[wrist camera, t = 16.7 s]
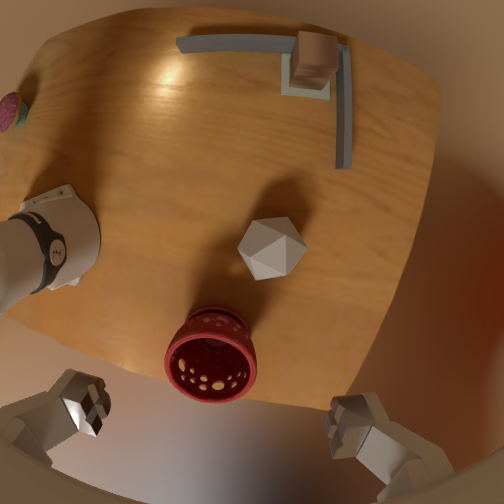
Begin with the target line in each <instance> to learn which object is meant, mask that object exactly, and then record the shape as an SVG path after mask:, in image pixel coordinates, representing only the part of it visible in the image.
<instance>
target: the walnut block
mask: <svg viewBox="0 0 504 504" xmlns="http://www.w3.org/2000/svg"><path fill="white" fill-rule="evenodd" d="M338 69H339V51H338V37H337V36H331V35H326V34H320V33H313V32H306V31H298V34H297V38H296V41H295V44H294V47H293V50H292V54H291V57H290V60H289V87H293V88H303V89H312V90H319V91H321V90H322V89H323V88H324V87H325V85H326V84H327V83H328V81H329V80H330V79H331V78H332V76H333V75H334V74H335V73H336V71H337V70H338Z"/></svg>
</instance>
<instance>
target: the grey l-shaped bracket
mask: <svg viewBox="0 0 504 504" xmlns="http://www.w3.org/2000/svg"><path fill="white" fill-rule="evenodd" d="M296 38H297V37H291V36H280V35H264V34H212V35H196V36H185V37H177V38H176V45H177V46H178V48H179V50H180V51H181V53H194V52H210V51H261V52H278V53H282V68H281V95H292V96H302V97H311V98H319V99H326V100H330V80H329V81H328V83H327V84H326V85H325V87H324V88H323V89H322V90H321V91H319V90H312V89H303V88H293V87H289V60H290V57H291V54H292V50H293V47H294V44H295V41H296ZM338 51H339V69H338V70H337V71H336V84H337V137H336V167H335V169H342V170H343V169H351V165H352V76H351V58H350V46H349V45H344V44H339V43H338ZM287 53H290V54H287Z"/></svg>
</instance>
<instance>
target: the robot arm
mask: <svg viewBox="0 0 504 504" xmlns="http://www.w3.org/2000/svg"><path fill="white" fill-rule="evenodd" d="M62 192H63V194H62ZM99 248H100V233H99V228H98V224H97V221H96V219H95V216H94V215H93V213H92V211H91V210H90V208H89V207H88V206H87V205H86V204H85V203H84V202H83V201H81V200H80V199H79V198H78V197H77V195H76V193H75V191H74V189H73V188H72V186H71V185H70V184H66V185H63V186H60V187H58V188H55V189H53V190H50V191H48V192H45V193H43V194H41V195H38V196H36V197H34V198H31V199H29V200H27V201H25V202H23V203H21V205H20V209H19V212H17V213H15V214H13V215H12V216H11V217H10V218H9V219H8V220H6V221H3V222H0V315H1V314H2V313H3V312H5V311H6V310H7V309H8V308H10V307H11V306H12V305H14V304H15V303H17V302H18V301H20V300H21V299H22V298H24V297H25V296H27V295H29V294H35V293H37V292H40V291H42V290H44V289H45V288H49V289H51V290H55V289H57V288H59V287H61V286H63V285H65V284H70V285H72V286H76V285H78V284H79V283H80V281H81V279H82V277H83V274H84V273H85V272H86V271H87V270H89V269H90V268H91V267H92V266H93V264H94V263H95V261H96V259H97V256H98V253H99ZM105 386H106V385H105V383H104V380H103V379H102V378H99V377H95V376H92V375H89V374H85V373H82V372H79V371H75V370H72V369H68V370H66V371H65V372H64V373H63V375H62V376H61V377H60V378H59V379H58V380H57V382H56V383H55V384H54V385H53V386H52V388H51V389H50V390H49V391H48V392H46V391H44V392H41V393H39V394H36V395H34V396H31V397H28V398H25V399H23V400H20V401H17V402H15V403H12V404H9V405H6V406H3V407H1V408H0V504H147V503H143V502H140V501H136V500H132V499H129V498H126V497H123V496H119V495H116V494H113V493H110V492H108V491H105V490H102V489H99V488H97V487H94V486H91V485H89V484H86V483H84V482H82V481H79V480H77V479H75V478H73V477H70V476H68V475H66V474H64V473H62V472H60V471H58V470H56V469H53V468H52V467H51V465H52V460H51V459H50V457H49V456H48V455H47V453H46V451H48V450H50V449H51V448H53V447H54V446H56V445H57V444H59V443H61V442H63V441H64V440H66V439H67V438H69V437H70V436H72V435H74V434H75V433H77V432H78V431H81V432H84V433H87V434H90V435H94V436H97V434H98V433H99V430H100V429H101V427H102V425H103V424H102V419H104V418H106V417H107V416H108V414H109V412H110V408H111V400H110V397H109V394H108V393H107V392H106V391H105V390H104V388H105ZM330 405H331V408H332V409H331V410H330V411H329V412H328V413H327V417H326V433H327V436H328V437H329V438H331V439H332V441H331V443H330V449H331V453H332V457H333V459H340V458H347V457H355V456H356V458H357V459H358V460H359V461H360V462H361V463H363V464H364V465H365V466H366V467H367V468H368V469H369V470H370V471H372V472H373V473H374V474H375V475H376V476H377V477H378V478H380V479H381V480H382V481H383V482H384V483H385V484H387V486H386V487H385V488H384V489H383V490H382V492H381V493H380V494H379V495H378V496H377V499H378V502H376V503H372V504H504V446H502V447H501V448H499V449H498V450H496V451H495V452H493V453H491V454H490V455H488V456H486V457H485V458H483V459H481V460H480V461H478V462H476V463H474V464H472V465H470V466H469V467H467V468H465V469H463V470H461V471H459V472H457V473H455V471H454V470H453V468H452V466H451V464H450V462H449V460H448V459H447V457H446V455H445V453H444V451H443V450H442V448H440V447H438V446H436V445H434V444H433V443H431V442H429V441H427V440H425V439H423V438H422V437H420V436H418V435H416V434H415V433H413V432H411V431H409V430H408V429H405V428H404V427H403V426H401V425H399V424H397V423H396V422H390V420H389V418H388V416H387V414H386V412H385V410H384V408H383V406H382V404H381V402H380V400H379V398H378V397H377V395H376V393H375V392H369V393H362V394H353V395H344V396H334V397H333V398H332V401H331V404H330Z"/></svg>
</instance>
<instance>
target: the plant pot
mask: <svg viewBox="0 0 504 504" xmlns="http://www.w3.org/2000/svg"><path fill="white" fill-rule="evenodd" d="M179 359H180V360H181V361H182V362H183V364H184V366H185V371H184V372H183V371H182V370H181V369H180V368H179ZM164 364H165V370H166V374H167V376H168V378H169V380H170V382H171V383H172V384H173V385H174V387H175V388H177V389H178V390H179V391H180V392H181V393H183V394H184V395H186V396H188V397H190V398H192V399H194V400H197V401H200V402H205V403H225V402H230V401H233V400H235V399H238V398H239V397H241V396H243V395H244V394H245V393H247V392H248V391H249V390H250V388H251V387H252V386H253V384H254V382H255V380H256V376H257V361H256V354H255V350H254V346H253V343H252V340H251V338H250V333H249V329H248V327H247V325H246V323H245V321H244V320H243V319H242V318H241V317H240V316H239V315H238V314H237V313H235V312H234V311H232V310H230V309H228V308H224V307H220V306H207V307H203V308H200V309H198V310H196V311H194V312H193V313H192V314H190V315H189V317H188V318H187V319H186V321H185V323H184V325H183V326H182V327H181V328H180V329H179V330H178V331H177V333H176V334H175V336H174V338H173V339H172V341H171V343H170V345H169V347H168V350H167V352H166V355H165V362H164ZM190 369H192V370H193V371H194V373H191V372H190ZM240 373H241V374H240ZM239 374H240V376H239V377H238V375H239ZM245 375H246V377H245V378H244V376H245ZM181 376H182V377H183V378H184V380H182V378H181ZM200 377H206V378H207V381H206V382H204V381H202V380H201V379H200ZM229 377H232V378H231V379H230V380H227V379H228V378H229ZM190 379H192V380H194V382H195V383H192V382H191V381H190ZM214 383H223V384H224V385H225V386H224V388H223V389H221V390H215V389H213V388H212V385H213V384H214ZM236 383H237V385H236V386H235V387H233V388H231V386H232V385H234V384H236ZM199 386H204V387H206V388H207V390H201V389H200V388H199Z"/></svg>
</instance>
